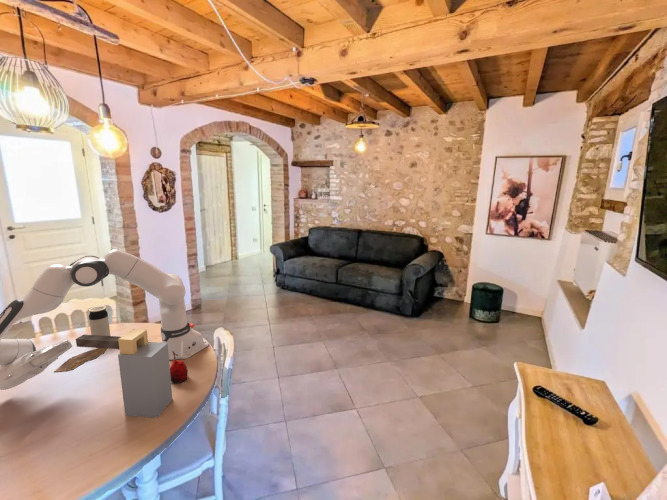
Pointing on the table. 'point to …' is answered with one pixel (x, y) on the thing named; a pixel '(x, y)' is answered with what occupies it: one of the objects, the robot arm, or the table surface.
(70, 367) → the wooden fragment
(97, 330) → the travel mug
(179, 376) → the red clay folk toy
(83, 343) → the block
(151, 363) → the post
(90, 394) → the table surface
